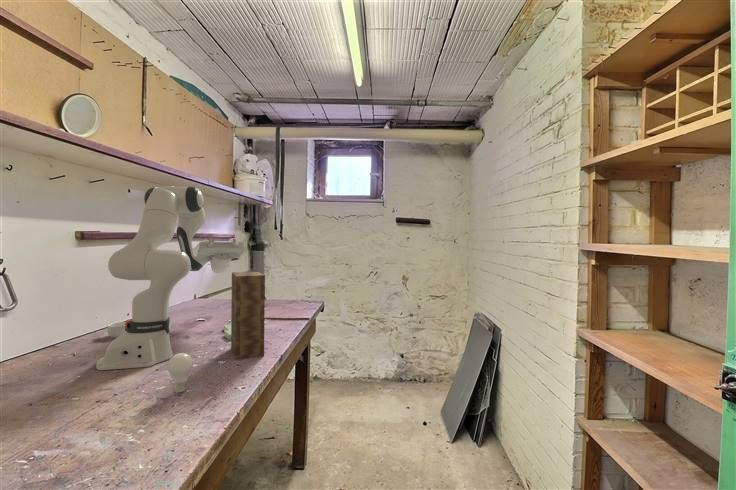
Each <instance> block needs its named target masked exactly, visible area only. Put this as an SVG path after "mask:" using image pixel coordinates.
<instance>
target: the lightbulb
mask: <svg viewBox="0 0 736 490" xmlns="http://www.w3.org/2000/svg"><path fill="white" fill-rule="evenodd" d="M193 365H194V361H193V358H192V357H191V355H190V354H188V353H185V352H179V353H176V354H173V356H172V357H171V358H169V359H168V361H167V366H166V367H167V368H166V369H167V372H168V374H169V375H171V376H172V380H173V383H174V392H176V393H178V394H182V393H183V392H184V391H186V381H187V379H188V375H189V373H191V370H192V369H193V367H194V366H193Z"/></svg>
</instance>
